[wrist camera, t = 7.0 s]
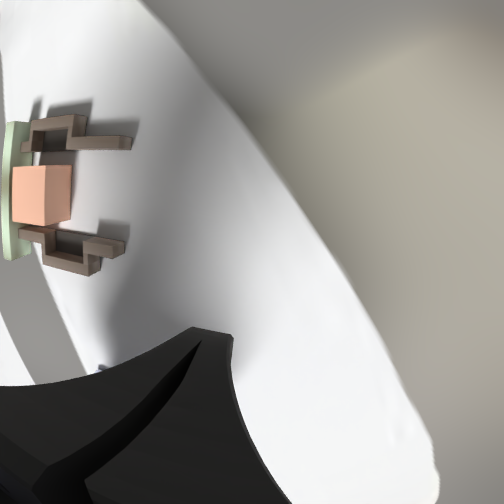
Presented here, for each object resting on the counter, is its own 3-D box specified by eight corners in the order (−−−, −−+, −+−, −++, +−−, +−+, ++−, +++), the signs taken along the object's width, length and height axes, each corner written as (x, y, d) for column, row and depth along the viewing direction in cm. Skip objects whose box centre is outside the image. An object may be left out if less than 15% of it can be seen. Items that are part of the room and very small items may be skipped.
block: (71, 219, 19) (44, 226, 16) (38, 215, 20) (12, 221, 17) (73, 164, 18) (45, 165, 15) (39, 165, 19) (12, 167, 16)
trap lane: (124, 275, 19) (105, 287, 17) (23, 251, 20) (3, 258, 18) (135, 113, 17) (114, 106, 14) (27, 124, 18) (6, 122, 15)
